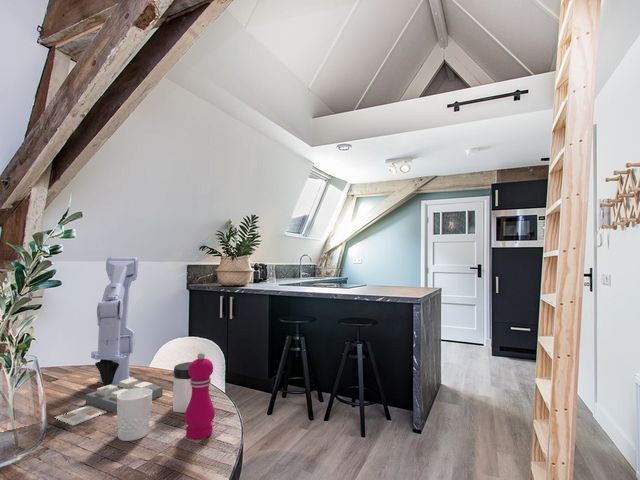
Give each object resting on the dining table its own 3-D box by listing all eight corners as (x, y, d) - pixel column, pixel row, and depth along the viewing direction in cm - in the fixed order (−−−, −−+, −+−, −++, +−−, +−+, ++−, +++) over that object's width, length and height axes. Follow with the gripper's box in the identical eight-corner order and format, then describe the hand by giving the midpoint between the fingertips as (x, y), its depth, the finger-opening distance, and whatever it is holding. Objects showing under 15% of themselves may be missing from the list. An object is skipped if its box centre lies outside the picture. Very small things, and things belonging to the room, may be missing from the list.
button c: (111, 398, 106) (111, 392, 106) (123, 393, 109) (124, 388, 109) (119, 400, 104) (119, 395, 104) (132, 396, 107) (132, 390, 107)
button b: (118, 386, 115) (119, 381, 115) (130, 382, 118) (130, 377, 119) (126, 388, 113) (126, 383, 113) (138, 385, 117) (138, 379, 117)
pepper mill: (205, 442, 86) (207, 357, 86) (177, 439, 87) (180, 355, 88) (219, 428, 93) (221, 349, 94) (194, 425, 94) (195, 348, 95)
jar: (174, 402, 109) (175, 362, 109) (202, 399, 111) (203, 360, 112) (171, 415, 100) (172, 371, 101) (201, 411, 102) (202, 369, 103)
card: (53, 418, 97) (54, 417, 98) (88, 406, 105) (88, 405, 105) (72, 425, 93) (72, 424, 93) (106, 412, 101) (107, 411, 101)
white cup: (141, 443, 85) (142, 400, 86) (108, 442, 85) (109, 399, 86) (156, 427, 93) (158, 388, 93) (126, 426, 93) (128, 387, 94)
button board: (85, 403, 108) (86, 394, 108) (131, 387, 121) (132, 379, 121) (117, 413, 101) (117, 404, 101) (162, 395, 114) (162, 387, 114)
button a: (96, 394, 109) (96, 388, 109) (109, 389, 112) (109, 384, 112) (104, 396, 107) (104, 391, 107) (117, 392, 110) (117, 386, 110)
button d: (132, 390, 112) (133, 385, 112) (144, 386, 115) (144, 381, 115) (141, 392, 110) (141, 387, 110) (152, 388, 113) (153, 383, 114)
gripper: (81, 339, 110) (80, 384, 109) (111, 345, 103) (109, 393, 103) (104, 335, 116) (103, 377, 116) (133, 340, 110) (132, 385, 109)
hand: (107, 384), depth 110 cm, fingers closed
